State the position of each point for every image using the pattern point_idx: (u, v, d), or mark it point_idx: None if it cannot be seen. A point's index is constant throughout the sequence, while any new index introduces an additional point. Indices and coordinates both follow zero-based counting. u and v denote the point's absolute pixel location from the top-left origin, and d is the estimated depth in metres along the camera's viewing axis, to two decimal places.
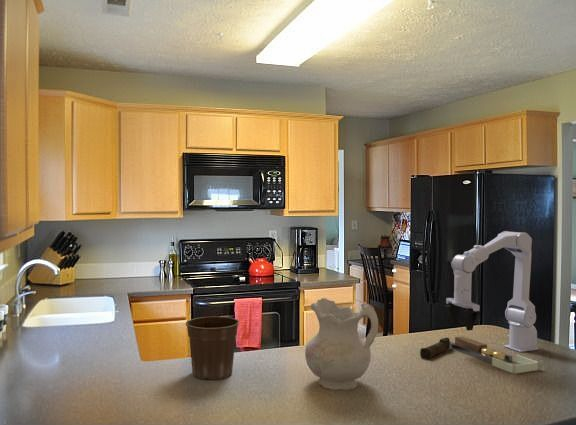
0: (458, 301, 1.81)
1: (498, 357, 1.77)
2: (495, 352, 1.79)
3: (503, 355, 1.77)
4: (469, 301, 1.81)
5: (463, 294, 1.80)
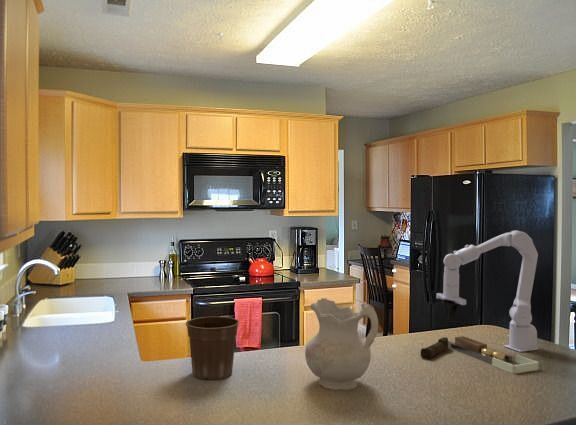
0: (447, 296, 1.98)
1: (498, 357, 1.77)
2: (495, 352, 1.79)
3: (503, 355, 1.77)
4: (457, 296, 1.98)
5: (451, 289, 1.97)
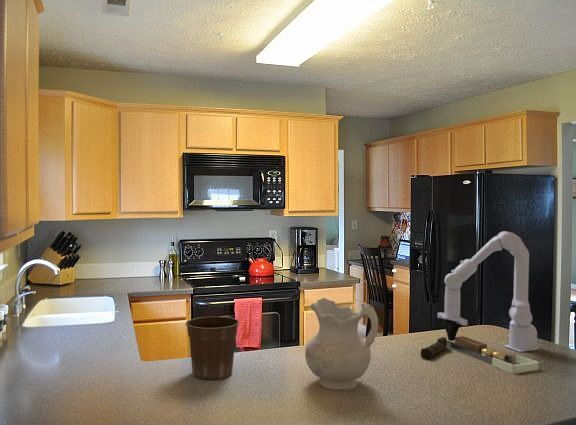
0: (448, 316, 1.97)
1: (498, 357, 1.77)
2: (495, 352, 1.79)
3: (503, 355, 1.77)
4: (458, 316, 1.97)
5: (452, 309, 1.97)
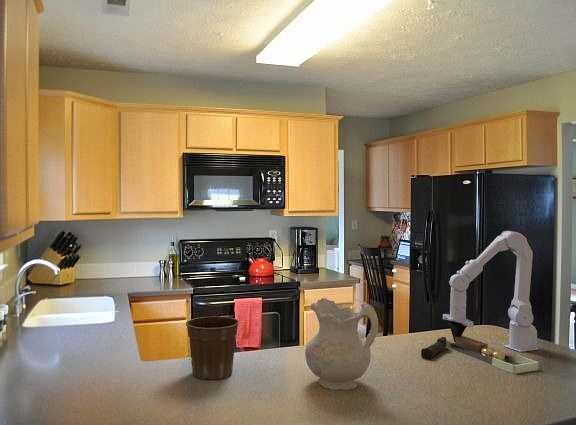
0: (454, 318, 1.95)
1: (498, 357, 1.77)
2: (495, 352, 1.79)
3: (503, 355, 1.77)
4: (464, 318, 1.94)
5: (458, 311, 1.94)
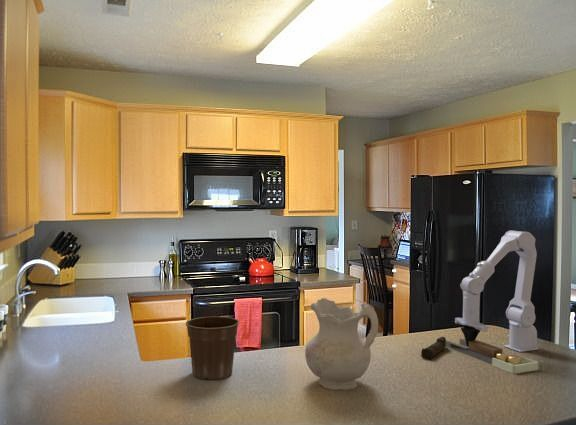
0: (467, 322, 1.88)
1: (515, 362, 1.72)
2: (511, 356, 1.73)
3: (519, 359, 1.72)
4: (477, 322, 1.88)
5: (471, 315, 1.88)
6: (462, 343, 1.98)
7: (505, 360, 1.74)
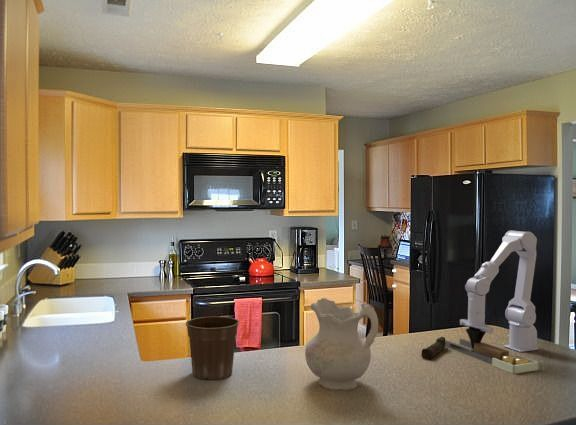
0: (472, 323, 1.86)
1: None
2: (518, 359, 1.71)
3: (527, 361, 1.70)
4: (483, 323, 1.86)
5: (477, 316, 1.85)
6: (462, 343, 1.98)
7: (512, 363, 1.72)
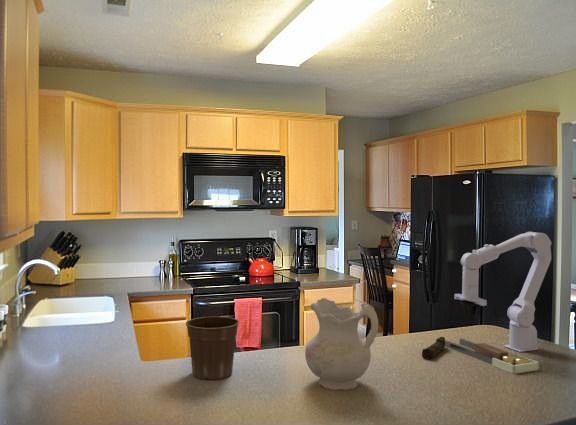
0: (466, 296, 1.92)
1: None
2: (518, 359, 1.71)
3: (527, 361, 1.70)
4: (476, 296, 1.92)
5: (471, 290, 1.92)
6: (462, 343, 1.98)
7: (512, 363, 1.72)
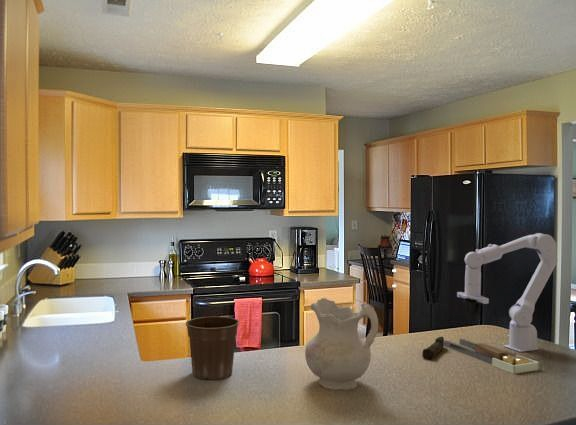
0: (469, 295, 1.96)
1: None
2: (518, 359, 1.71)
3: (527, 361, 1.70)
4: (479, 295, 1.96)
5: (473, 288, 1.95)
6: (462, 343, 1.98)
7: (512, 363, 1.72)
